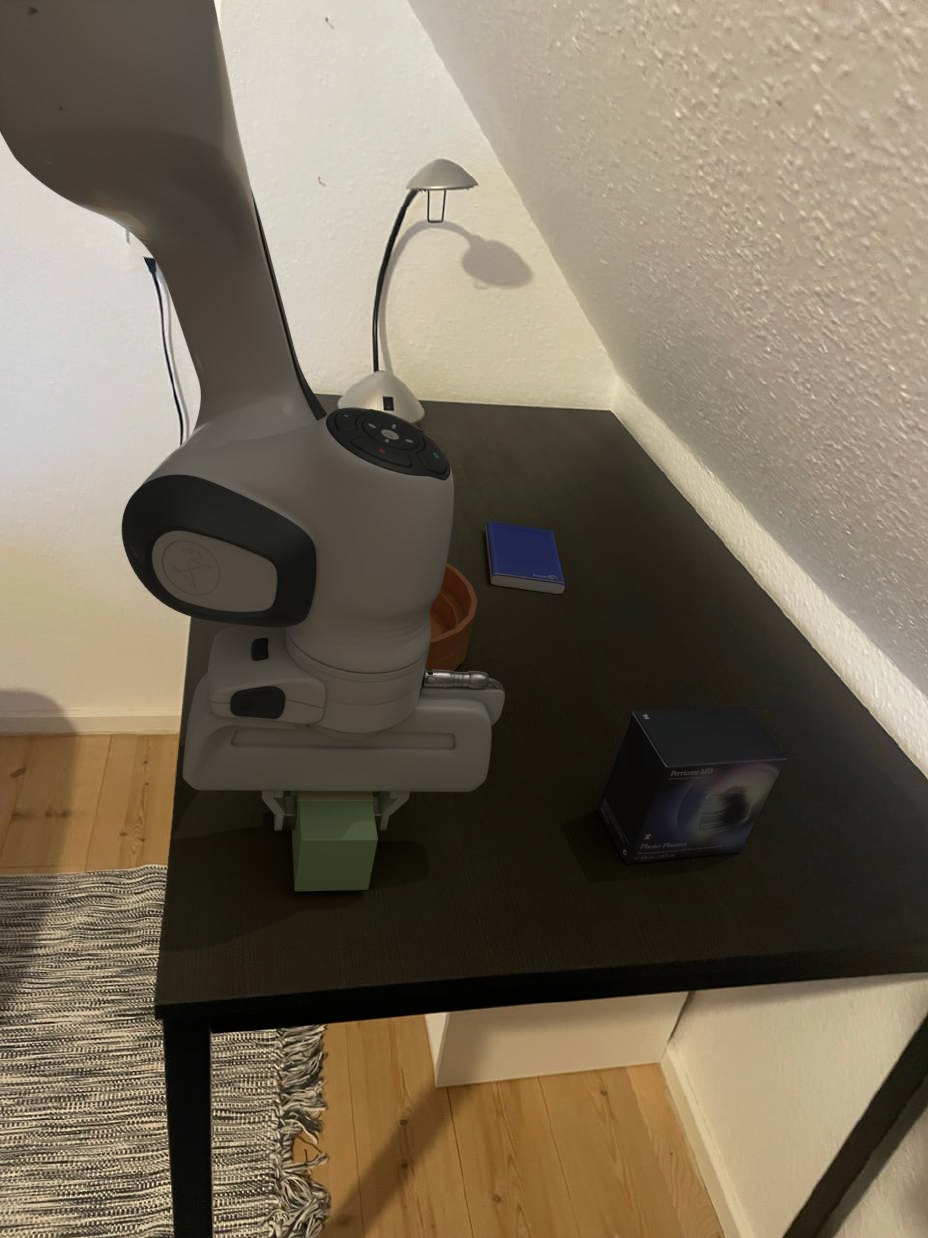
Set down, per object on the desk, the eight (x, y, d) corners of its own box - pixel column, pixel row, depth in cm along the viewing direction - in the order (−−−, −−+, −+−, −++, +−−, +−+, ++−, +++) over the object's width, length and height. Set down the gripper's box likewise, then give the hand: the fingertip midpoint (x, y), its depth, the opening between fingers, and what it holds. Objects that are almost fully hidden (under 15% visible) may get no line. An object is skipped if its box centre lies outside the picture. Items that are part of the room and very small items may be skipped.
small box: (626, 870, 72) (665, 767, 66) (593, 808, 77) (627, 708, 71) (744, 856, 75) (792, 758, 69) (705, 798, 80) (746, 702, 74)
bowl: (281, 692, 82) (285, 641, 79) (276, 581, 97) (279, 534, 94) (483, 697, 86) (494, 648, 83) (449, 589, 101) (457, 545, 98)
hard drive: (566, 582, 104) (553, 530, 114) (492, 572, 103) (487, 520, 113) (562, 594, 104) (550, 541, 115) (490, 584, 103) (484, 531, 114)
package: (293, 892, 63) (300, 839, 61) (289, 796, 71) (295, 745, 68) (368, 890, 65) (379, 838, 62) (357, 796, 72) (365, 746, 69)
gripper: (501, 646, 65) (463, 792, 72) (189, 631, 59) (183, 791, 67) (522, 704, 59) (479, 856, 67) (184, 694, 54) (178, 859, 62)
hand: (329, 823), depth 67 cm, fingers closed on package, 5 cm apart
